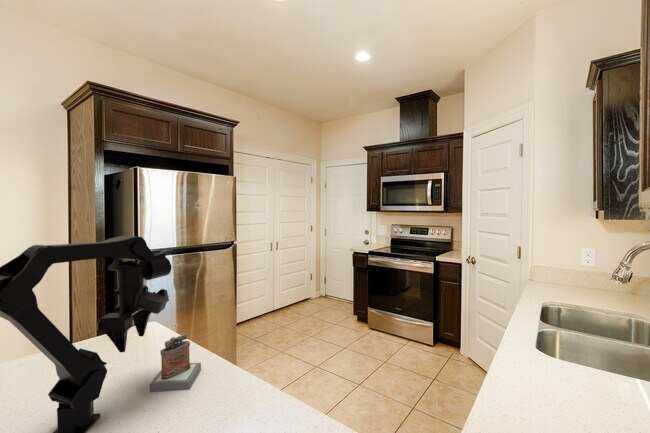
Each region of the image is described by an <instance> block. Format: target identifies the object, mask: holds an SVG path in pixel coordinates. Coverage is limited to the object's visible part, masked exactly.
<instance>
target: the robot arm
mask: <svg viewBox="0 0 650 433" xmlns="http://www.w3.org/2000/svg"><path fill="white" fill-rule="evenodd" d="M104 258H113V259H115V260H114V261H113V262H112V263H111V264H109V265H108V266H107V270H108V271H109V270H110V271H116V273H117V274H116V277H117V281H116V282H117V289H115V290H114V291H113V295H114V296H117V305H116V306H114V308H113V309H114V312H109V313H107V314H106V315H103V317H100V318H99V319H98V320H97V322H96V329H97V330H96V331H98V332H101V333H105V334H106V336H107V337H108V338H109V339H110V341H111V342H112V344H114V347H116V349H117V350H118V352H119V353H125V352H126V348H127V341H128V331H129V330H130V329H131V328H132V327H133V326H135V329H136V332H137V334H138V336H139V337H144V336H145V333H146V330H147V325H148V321H149V318H150V316H151V314H152V313H153V314H156V315H159V314H160V313H161V312H162V311H164V310H165V308H166V305H167V303H168V302H169V301H170V299H169V297H170V296H169V294H168V290H167V289H163V288H161V289H160V290H158V291H157V292H156V291H154V292H151V291H149V287H148V285H147V284H146V285H145V281H150V280H154V279H157V278H162V277H166V276H168V275H170V273H171V272H172V264H171V262H170V260H169V258H167V256H166V252H156V253H153V251H152V250H151V248H150V247H149V246H148V245H147V242H146V239H145V238H144V237H142V236H134V235H133V236H132V235H119V236H115V237H110V238H108V239H105V240H102V241H94V242H93V241H91V242H80V243H79V242H78V243H77V242H76V243H63V244H61V243H60V244H50V245H49V244H47V245H46V244H34V245H31V246H29V247H27V248H26V249H25V250H24V251H23V252H21V253H19V255H17V256H16V257H14V258H13V259H11V260H9V261H8V262H6V263H5V264H3V265H0V318H3V320H7V321H8V322H9V323H11V324H12V325H13V326H14V328H16V329H17V330H18V331H19V332H20V333H21V334H22V335H23V336H24V337H25V338H26V339H28V341H30V342H31V343H32V344H33V345H34V347H36V348H37V349H38V350H39V351H40V352H41V353H42V354H43V355H44V356H45V357H46V358H47V359H48V360H50V362H51V363H53V365H54V366H55V371H56V375H57V377H58V378H59V379H58V381H57V382H56V383H55V385H54V386H53V387H52V388H51V390H50V391H49V392H48V394H47V395H48V397H49V399H50V401H51V402H55V403H58V405H57V406H58V407H57V408H56V418H57V419H56V420H57V423H56V424H57V427H56V429H55V430H54V431H53V432H52V433H86V432H87V431H89V430H90V428H91V427H92V426H93V425H94V424H95V422H97V420H98V419H99V418H100V417H101V413H94V412H95V411H94V401H95V400H97V399H99V397H100V395H101V391H102V387H103V385H104V381H105V379H106V377H107V374H108V369H107V367H106V365H107V364H108V363H107V362H106V361H103V360H102V358H101V357H100V355H99V354H98V352H96V351H91V350H88V349H84V348H79V349H78V348H77V347H75V345H74V344H73V343H72V342H71V341H70V339H68V338H67V337H66V335H64V334H63V333H62V332H61V331H60V329H59V328H58V327H57V326H56V325H55V324H54V323H53V321H52V320H50V319H49V318H48V317H47V316H46V315H45V314H44V313H43V312H42V311H41V309H40V308H39V306H38V305H39V304H38V299H37V296H36V294H35V291H34V288H36V287H37V285H38V284H40V282H41V281H42V280H43V278H44V276H45V275H46V273H47V271H48V270H49V268H51V266H53V264H60V263H69V262H79V261H88V260H95V259H104ZM122 259H128V260H124V261H123V260H122ZM136 261H137V262H136ZM144 280H145V281H144ZM132 323H134V324H132Z"/></svg>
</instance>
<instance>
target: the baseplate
mask: <svg viewBox="0 0 650 433" xmlns="http://www.w3.org/2000/svg"><path fill="white" fill-rule="evenodd" d="M201 370H202V363H201V362H191V363H190V369H188V370H187V371H185V372H183V373H181V374H180V375H177V376H175V377H173V378H170V379H167V380H162V379H161V374H162V369H161V370H160V371H159V372H158V373H157V374H156V376H155V377H154V378H153V379H152V381H151V382H150V383H149V392H165V391H182V390H183V391H184V390H190V389H191V387H192V385H193V384H194V382H195V380H196V379H197V377H198V376H199V373H200V372H201Z"/></svg>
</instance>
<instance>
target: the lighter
mask: <svg viewBox="0 0 650 433" xmlns="http://www.w3.org/2000/svg"><path fill="white" fill-rule="evenodd" d="M190 344H191V342H190V341H189V340H188V335H187V333H183V334H181V335H178V336H177V337H175V336H173V337H171V338H170V339H168V340H167V341H164V346H165V347H164V348H161V350H160V357H161V358H160V360H161V370H162V374H161V379H162V380H167V379H170V378H173V377H175V376H177V375H180V374H181V373H183V372H185V371H187V370H188V369H190V346H191V345H190Z"/></svg>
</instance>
